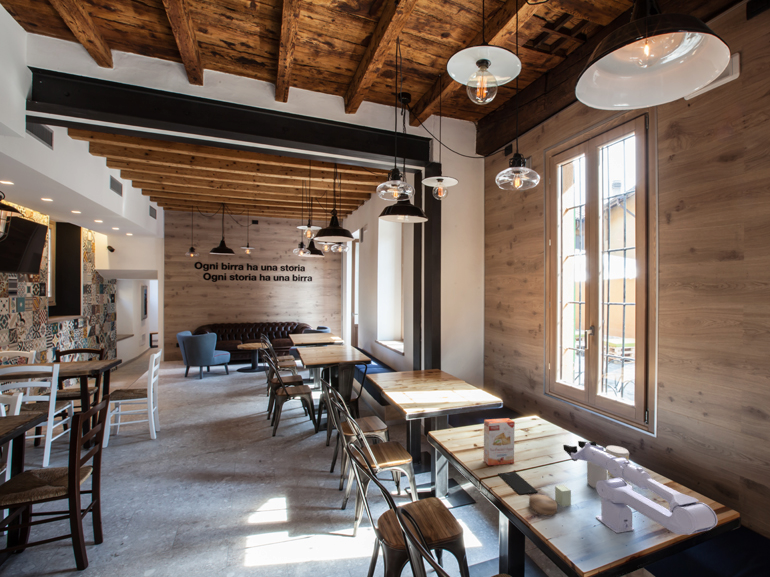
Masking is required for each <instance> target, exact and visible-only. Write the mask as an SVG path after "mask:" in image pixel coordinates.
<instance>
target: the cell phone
mask: <svg viewBox="0 0 770 577" xmlns="http://www.w3.org/2000/svg"><path fill="white" fill-rule="evenodd" d="M497 476H499V477H500V479H502V480H503V481H504V482H505V484H507V485H508V486H509V487H510V488H512V490H513V491H514V492H515V493H517V494H518V495H519V496H524V495H535V494H538V490H537V489H536V488H535V487H533V486H532V485H531V484H530V483H529V482H528V481H527V480H525V479H524V478H523V477H522V476H520V475H519V474H518V473H517V472H516V471H507V472H499V473H497Z"/></svg>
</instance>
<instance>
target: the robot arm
mask: <svg viewBox="0 0 770 577" xmlns="http://www.w3.org/2000/svg"><path fill="white" fill-rule="evenodd" d="M577 444H578V446H577V445H574V446H572V445H568V444H563V451H565V453H567V454H568V455H569V457H570V459H571V461H574V462H577V461H579V460H580V461H585V462H587V461H590V462H592V463H594V464H596V465H598V466H600V467H602V468H604V469H606V470H608V471H609V472H610V474H611V475H613V476H614V477H617V478H614V477H613V478H609V479H608V478H607V480H599V481H598V482H597V483H596V491H597V494H598V495H599V497H600V500H601V503H600V504H601V506H600V509H601V512H600V513H601V514H600V515H595V518H596V519H597V520H598V521H600V522H601V523H602V524H604V525H605V526H606V527H608V528H609V529H611V530H612V531H613V532H615V533H616V534H619V533H625V532H630V531H634V530H635V528H634V526H633V511H632V509H633V510H634V511H635V512H638V513H640V514H641V515H643V516H644V517H646V518H648V519H650V520H651V521H653V522H655V523H657V524H659V526H662V527H663V528H665V529H667V530H668V531H670V532H672V533H673V534H675V535H678V536H680V535H681V536H682V535H688V536H690V535H693V534H697V533H701V532H706V531H711V529H713V528H715V527H716V526H717V524H718V516H717V513H716V512H715V511H714V510H713V508H712V507H711V506H710V505H708V504H706V503H704V502H700V500H699V499H697V498H696V497H693V496H690V495H687V494H685V493H681V492H679V491H677V490H675V489H673V488H671V487H669V486H667V485H665V484H663V483H661V482H659V481H656V480H655V479H653V478H652V477H651V475H650V474H649V473H648V472H647V471H645V470H644V469H643V468H642V467H640V466H639V467H637V466H635V465H633V464H632V463H631V462H630V460H629V461H628V460H627V459H626V457H620V458H618V457H615V456H613V455H611V454H608V453H606V451H605V450H604V447H603V446H601V445H597V442H596V441H583V440H578V441H577ZM578 447H579V448H580V449H579V450H578ZM608 471H607V472H608ZM620 477H621V478H620ZM622 478H624V479H622ZM627 481H628V482H627ZM629 483H630V484H629ZM631 484H632V485H634V486H636V487H637V488H639V489H641V490H646V489H647V490H649V491H650V492H652V493H653V494H655V495H657V496H658V497H660V498H661V499H662V500H664V501H666V502H667V503H668V507H669V509H668V508H666V507H665V506H663V505H660V504H659V503H658V502H655V501H653V500H651V499H649V498H647V497H646V496H644V495H642V494H640V493H638V492H636V491H635V490H634V488H633V486H632V485H631Z"/></svg>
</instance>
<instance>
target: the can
mask: <svg viewBox="0 0 770 577" xmlns="http://www.w3.org/2000/svg"><path fill="white" fill-rule="evenodd" d="M586 464H587V465H586V470H587V471H586V472H587V473H586V474H587V475H586V478H587V479H586V482H587V484H588V485H589V486H590V487H591V488H593V489H596V483H597V482H598V481H599V480H608V471H607V470H606V469H604V468H602V467H600V466H598V465H596V464H594V463H592V462H590V461H586ZM596 490H597V489H596Z"/></svg>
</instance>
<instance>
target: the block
mask: <svg viewBox="0 0 770 577" xmlns="http://www.w3.org/2000/svg"><path fill="white" fill-rule="evenodd" d="M554 489H555V490H554V492H555V493H554V494H555V495H554V500H555V501H556V503H557V505H559V506H561V507H568V506H572V496H571V495H572V492H571V491H572V490H571V489H570V488H569V487H567V486H566V485H564V484H563V485H555V486H554Z"/></svg>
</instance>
